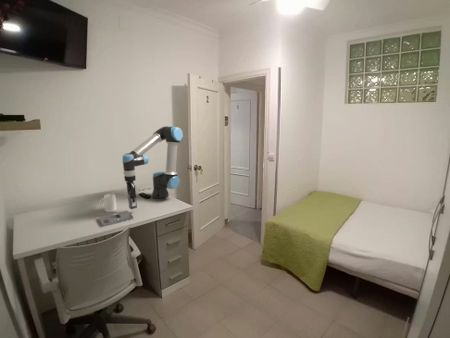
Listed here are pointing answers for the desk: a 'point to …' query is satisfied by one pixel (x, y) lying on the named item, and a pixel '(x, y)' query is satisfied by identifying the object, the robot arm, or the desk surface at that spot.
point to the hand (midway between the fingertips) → (132, 204)
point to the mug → (109, 202)
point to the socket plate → (108, 219)
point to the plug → (130, 201)
